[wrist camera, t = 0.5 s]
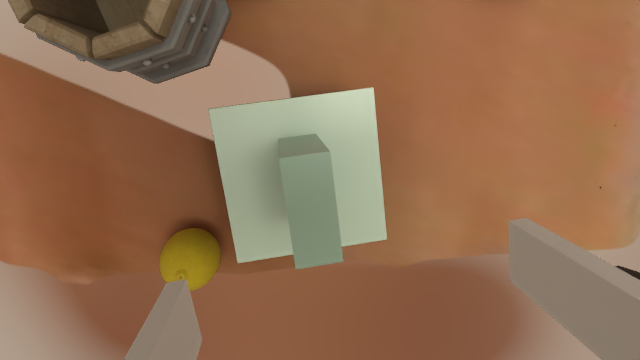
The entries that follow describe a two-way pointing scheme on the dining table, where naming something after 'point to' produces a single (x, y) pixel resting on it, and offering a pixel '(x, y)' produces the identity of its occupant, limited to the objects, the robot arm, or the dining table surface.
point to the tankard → (131, 32)
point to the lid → (301, 175)
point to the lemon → (190, 257)
